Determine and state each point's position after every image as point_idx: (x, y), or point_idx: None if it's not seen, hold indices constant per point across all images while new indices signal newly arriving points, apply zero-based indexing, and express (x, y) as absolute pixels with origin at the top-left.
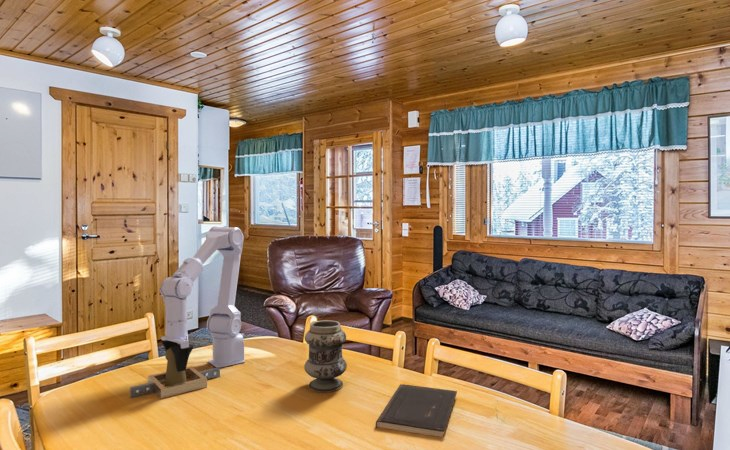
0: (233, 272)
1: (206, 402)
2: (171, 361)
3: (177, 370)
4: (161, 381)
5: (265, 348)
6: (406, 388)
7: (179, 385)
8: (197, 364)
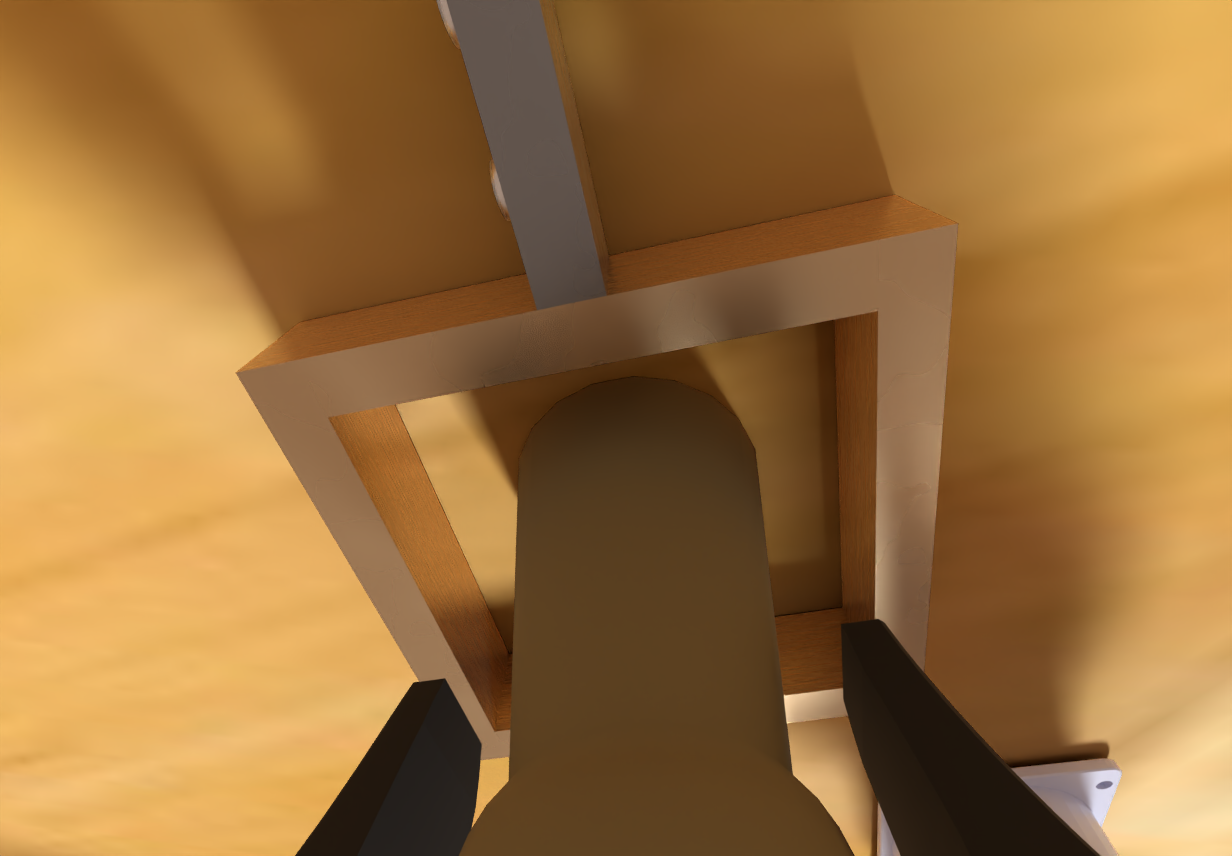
0: None
1: (142, 644)
2: (517, 774)
3: (408, 696)
4: (839, 369)
5: None
6: None
7: (351, 563)
8: (1133, 688)
